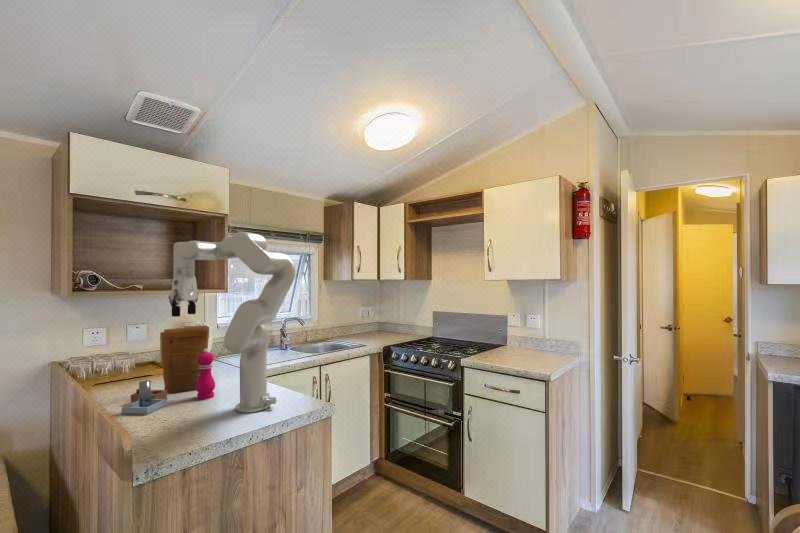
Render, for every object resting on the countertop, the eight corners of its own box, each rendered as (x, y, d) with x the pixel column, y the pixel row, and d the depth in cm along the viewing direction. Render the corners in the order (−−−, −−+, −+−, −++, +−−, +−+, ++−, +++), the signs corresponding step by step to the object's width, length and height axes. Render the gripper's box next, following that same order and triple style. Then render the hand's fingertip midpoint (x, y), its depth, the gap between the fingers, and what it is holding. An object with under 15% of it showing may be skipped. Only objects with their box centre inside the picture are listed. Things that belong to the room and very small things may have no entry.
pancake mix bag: (210, 389, 173) (210, 325, 174) (159, 396, 163) (159, 329, 164) (209, 385, 179) (209, 324, 179) (160, 392, 169) (160, 327, 170)
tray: (166, 405, 151) (166, 399, 151) (147, 414, 141) (147, 407, 141) (142, 405, 152) (142, 398, 152) (121, 414, 142) (121, 407, 142)
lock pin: (152, 406, 148) (152, 380, 148) (145, 410, 144) (145, 382, 144) (144, 406, 148) (143, 380, 148) (136, 409, 144) (136, 382, 145)
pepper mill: (219, 395, 163) (219, 347, 164) (206, 400, 156) (206, 350, 157) (204, 394, 165) (204, 346, 166) (191, 399, 158) (191, 349, 159)
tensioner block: (167, 399, 158) (167, 385, 158) (154, 405, 151) (154, 389, 151) (144, 399, 159) (144, 384, 159) (130, 405, 152) (130, 389, 152)
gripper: (178, 272, 149) (178, 317, 148) (205, 272, 166) (205, 313, 165) (160, 272, 149) (160, 317, 149) (189, 273, 167) (189, 313, 166)
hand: (184, 315), depth 157 cm, fingers open, 9 cm apart
